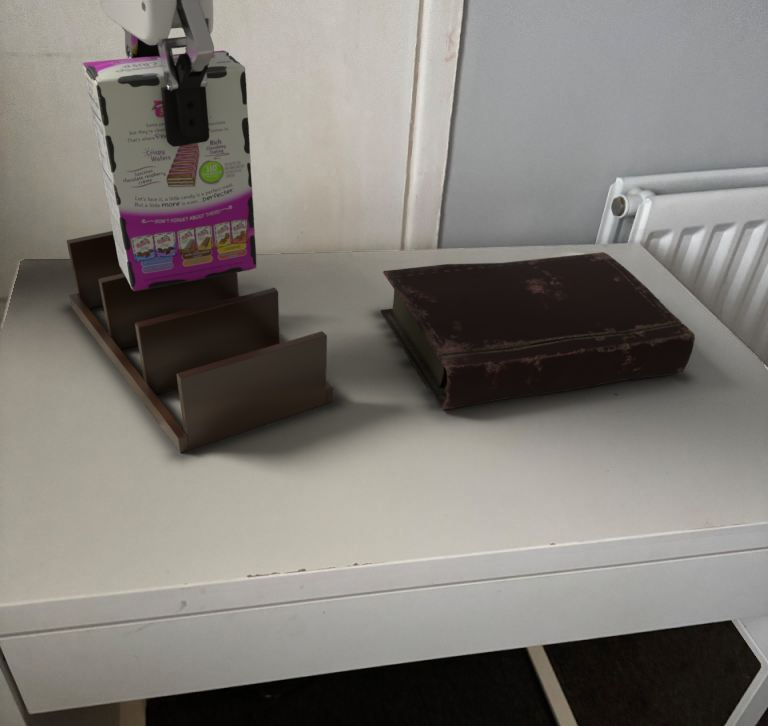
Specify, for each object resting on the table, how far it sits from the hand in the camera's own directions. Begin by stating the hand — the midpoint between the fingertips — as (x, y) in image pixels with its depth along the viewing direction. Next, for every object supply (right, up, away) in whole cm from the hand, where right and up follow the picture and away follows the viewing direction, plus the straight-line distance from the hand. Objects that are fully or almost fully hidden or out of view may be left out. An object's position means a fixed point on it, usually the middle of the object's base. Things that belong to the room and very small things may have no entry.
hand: (171, 127), depth 64 cm
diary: (+30, -13, +19) cm, 38 cm away
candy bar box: (-1, -9, +8) cm, 12 cm away
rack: (-1, -15, +14) cm, 20 cm away
